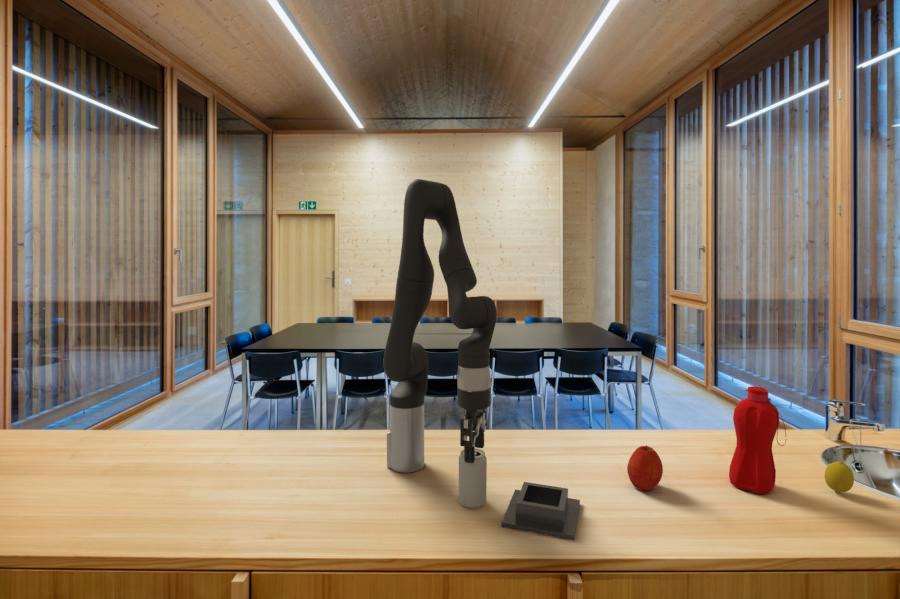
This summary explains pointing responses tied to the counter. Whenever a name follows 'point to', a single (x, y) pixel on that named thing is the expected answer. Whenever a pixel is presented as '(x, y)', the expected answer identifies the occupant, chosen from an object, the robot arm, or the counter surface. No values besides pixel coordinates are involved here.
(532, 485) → the grey square socket holder
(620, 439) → the counter surface
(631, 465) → the apple
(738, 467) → the water bottle
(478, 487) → the beverage can
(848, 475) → the lemon
